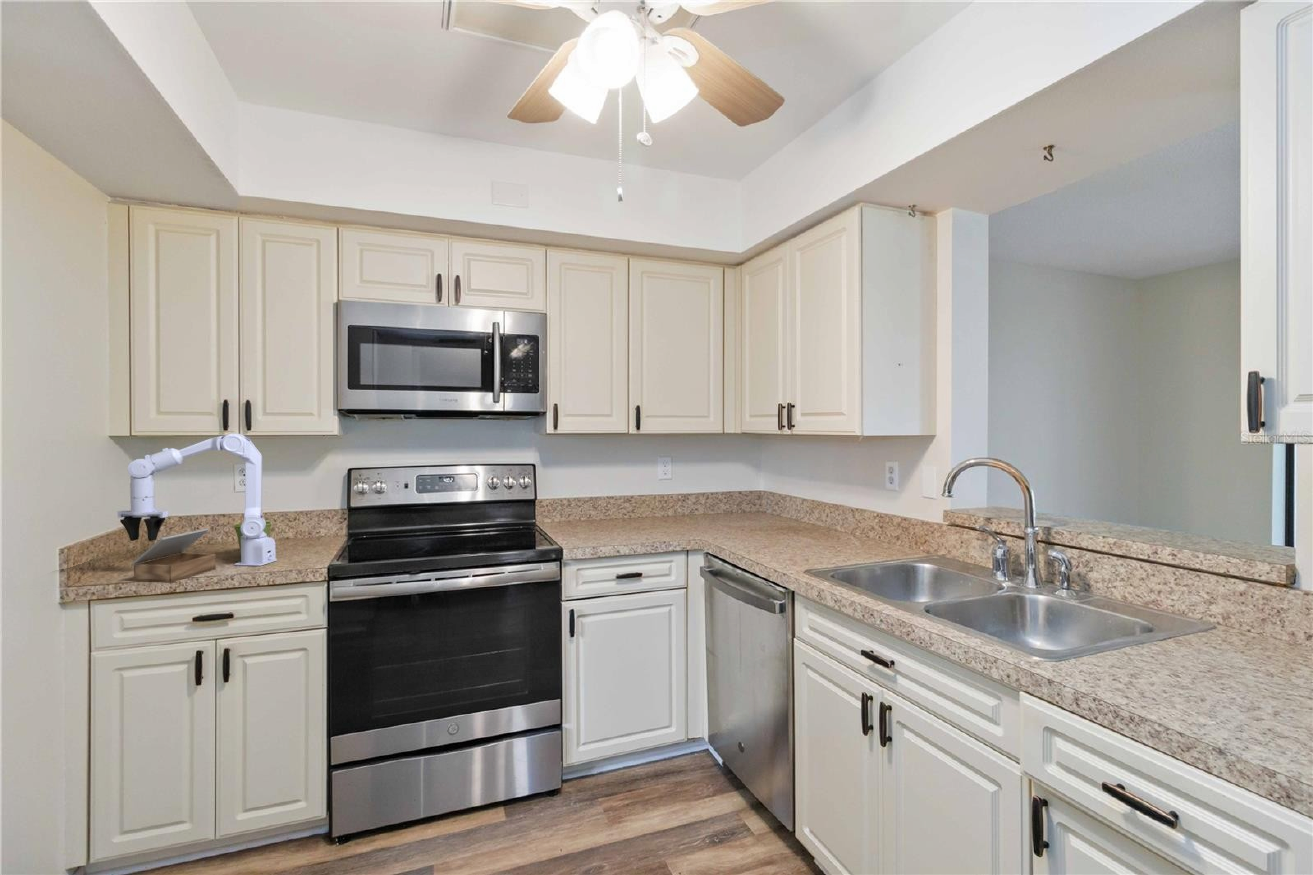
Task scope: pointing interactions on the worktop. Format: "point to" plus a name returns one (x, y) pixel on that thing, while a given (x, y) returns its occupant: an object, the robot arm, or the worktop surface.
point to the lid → (170, 546)
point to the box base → (174, 567)
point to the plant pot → (239, 534)
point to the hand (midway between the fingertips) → (143, 540)
